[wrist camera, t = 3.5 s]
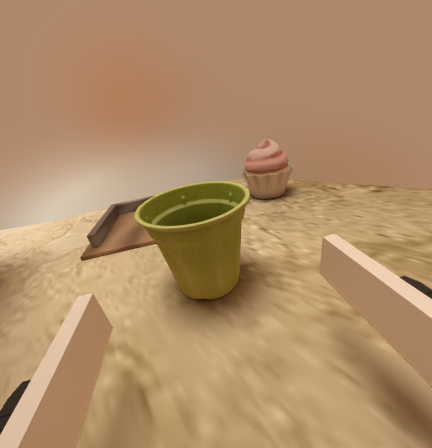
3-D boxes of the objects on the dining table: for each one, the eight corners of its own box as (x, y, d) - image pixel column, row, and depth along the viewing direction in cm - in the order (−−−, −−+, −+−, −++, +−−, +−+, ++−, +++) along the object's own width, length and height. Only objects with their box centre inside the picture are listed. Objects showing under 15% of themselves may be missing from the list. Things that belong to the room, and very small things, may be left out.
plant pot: (277, 275, 20) (274, 189, 16) (198, 341, 15) (166, 242, 11) (216, 242, 27) (204, 177, 23) (149, 281, 22) (119, 207, 18)
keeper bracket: (81, 260, 28) (73, 245, 27) (112, 215, 42) (107, 204, 41) (196, 233, 30) (192, 218, 29) (188, 198, 44) (186, 187, 43)
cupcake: (236, 203, 38) (229, 145, 33) (250, 186, 45) (245, 137, 41) (291, 203, 34) (291, 138, 29) (295, 185, 41) (296, 130, 37)
